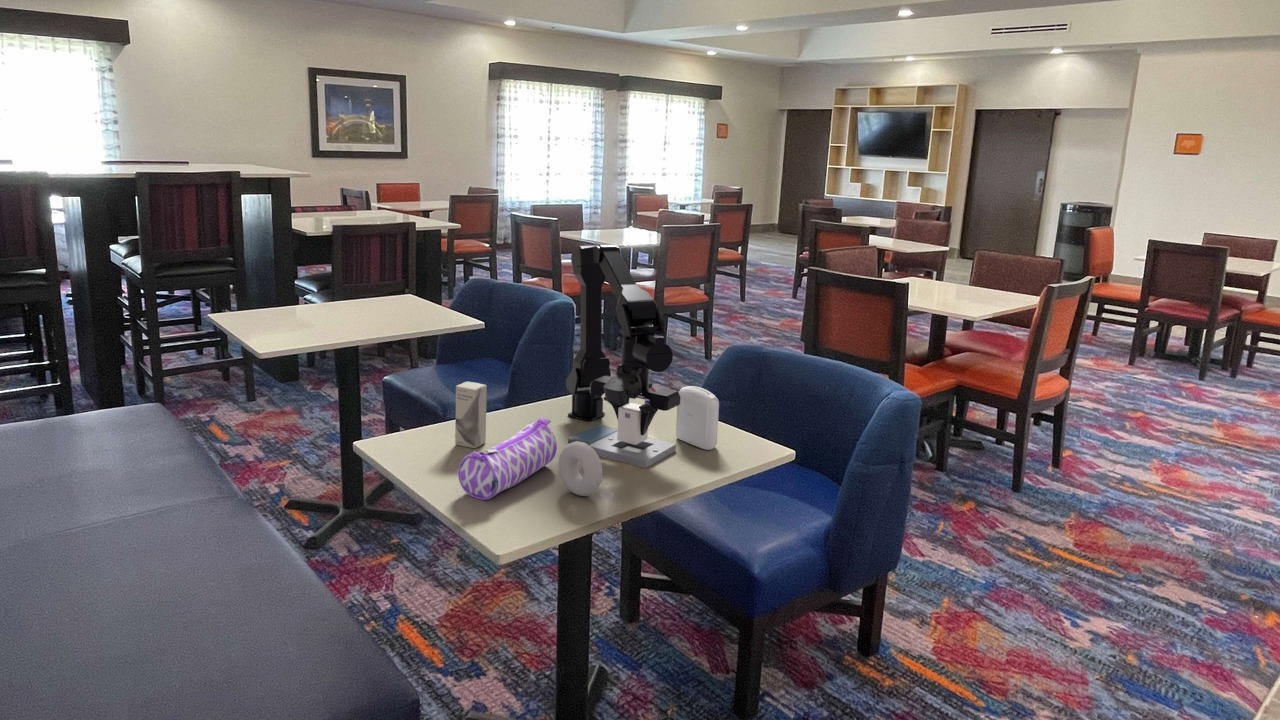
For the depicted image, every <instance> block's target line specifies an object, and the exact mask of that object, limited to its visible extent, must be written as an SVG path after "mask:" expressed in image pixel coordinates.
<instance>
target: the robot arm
mask: <svg viewBox="0 0 1280 720" xmlns="http://www.w3.org/2000/svg"><path fill="white" fill-rule="evenodd" d="M570 259H571V260H570V261H571V262H570V263H571V265H572V269H573V270H572V272H573V273H572V274H574V277H575V278H576V280H577V281H578V283H579V284H580V285H579V286H580V347H579V350H578V351H577V353H576V354H575V356H574V358H573V361H572V369H571V371H570V373H569V374H568V376H567V378H566V379H565V383H566V384H565V386H566V390H567V391H569V392H570V393H571V411H570V412H569V413H567V416H568V417H571V418H574V419H578V420H583V421H587V422H592V421H594V420H596V419H599V418H601V417H603V416H605V415H606V412H604V411H603V409H604V401H606V402H607V403H609V404H610V405H611V406H612V408H613V410H614V413H615V415H616V419H617V420H618V409H619V407H622V406H624V405H626V404H628V403H630V399H631V400H632V399H633V400H636V399H641V400H644V404H640V405H641V406H639V409H640V410H641V427H640V431H641V435H644V434H645V433H646V431H647V429H648V430H649V426H650V424H651V423H652V421H653V419H654V416H655V415H656V414H657V412H658V410H659V411H664V412H665V411H669V410H672V409H673V408H677V406H678V405H680V395H679V391H678V390H674V389H668V388H665V387H663V388H660V389H658V390H657V391H652V390H650V389H651V388H653V382H650V371H652V372H655V373H661V372H664V371H666V370H667V369H668V368H669V367H670V366H671V364H672V363H673V357H674V354H673V350H672V349H671V347H670V346H669V345H668V344H666V343H665V336H663V335H665V328H664V327H665V324H664V321H663V318H662V316H661V312H660V310H659V306H658V304H657V302H656V301H655V300H654V298H653V297H652V295H651V294H650V293H649V292H648V291H646V290H644V289H642V288H641V287H639V286H638V284H637V282H636V281H635V279H634V276H633V275H632V274H631V271H630V269H629V268H628V266H627V264H626V263H625V260H624V259H623V257H622V255H621V249H620V247H619V245H616V244H598V245H578V246H576V248H575V250H572V253H571V255H570ZM606 281H607V283H608V284H609V286H610V288H611V290H612V292H613V294H614V296H615V298H616V301H617V302H616V303H617V304H616V306H615V307H616V308H615V312H616V316H617V321H618V323H619V324H620V327H621V328H620V329H619V333H620V334H622V340H621V341H622V345H621V363H619V364H617V368H616V373H615V375H614V376H612V373H611V369H610V364H611V363H610V362H611V361H610V359H609V358H608V357H607V356H606V354H605V353H604V351H603V347H602V343H603V342H602V340H603V339H602V337H603V335H602V333H603V332H602V331H603V330H602V329H603V328H602V327H603V325H602V324H603V323H602V322H603V318H602V317H603V285H604V283H605V282H606ZM603 395H604V396H605V397H602V396H603Z"/></svg>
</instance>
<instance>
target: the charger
mask: <svg viewBox="0 0 1280 720" xmlns="http://www.w3.org/2000/svg"><path fill="white" fill-rule="evenodd" d="M641 405H642V404H638V403H635V402H629V403H628V404H626V405H624V406H622V407H619V409H618V419H617V430H618V437H617V440H619V441H623V442H627V443H630V444H634V445H637V444H639V443H640V442H642V441H644V440H646V439H647V437H648V435H649V434H648V433H649V432H648V431H649V428H648V429H647V431H646V433H645V434H644V435H641V431H640V427H641V410H640V409H639V406H641Z"/></svg>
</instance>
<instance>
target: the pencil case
mask: <svg viewBox="0 0 1280 720" xmlns="http://www.w3.org/2000/svg"><path fill="white" fill-rule="evenodd" d="M550 423H551V420H550V419H546V418H542V417H540V418H538V419H537V421H532V422H530V423H528V424H526V425H525V427H523V428H522V429H520V430H518V432H517V433H515V434H514V435H513V436H512V437H509V438H508V439H506V440H504V441H502V442H499V443H498V444H495V445H494V446H492V447H491V448H489V449H483V451H479V452H477V451H475V450H473V451H472V452H471V453H469V454H467V455H465V456H464V457H463V458H462V460H461V461H460V463H459V465H458V469H457V475H458V481H459V484H460V486H461V488H462V490H463V491H464V492H465V493H466V494H468V495H469V496H470V497H472V498H474V499H478V500H481V501H488V500H490V499H492V498H493V497H495V496H497V495H498V494H500V493H501V492H503V491H505V490H507V489H510V488H512V487H514V486H516V485H517V484H519V483H521V482H522V481H524V480H526V479H527V478H529V477H531V476H532V475H533V474H535V473H536V472H537V471H540V470H541V469H542V468H544V467H546V466H547V465H549V463H551V462H553V461H554V459H555V457H556V454H557V449H558V448H557V447H558V443H557V439H556V435H555V434H554V431H552V429H551V428H550V427H549V426H548V425H549V424H550Z"/></svg>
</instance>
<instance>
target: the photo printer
mask: <svg viewBox="0 0 1280 720" xmlns="http://www.w3.org/2000/svg"><path fill="white" fill-rule="evenodd" d="M678 393H679V395H680V405H678V406H676V422H675V423H676V424H675V425H676V427H675V437H676V438H677V439H678V440H680V441H682V442H685V443H688V444H690V445H692V446H695V447H698V448H700V449H703V450H706V451H707V450H708V451H709V450H714V449H715V448H716V446H717V444H718V432H719V431H718V430H719V427H718V426H719V410H720V401H719V399H718V398H717V397H716V395H715V394H713V393H712V392H711V391H709V390H707V389H705V388H702V387H699V386H696V385H688V386H685V387H684V386H683V387H681V388H680V390H679V391H678Z"/></svg>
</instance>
